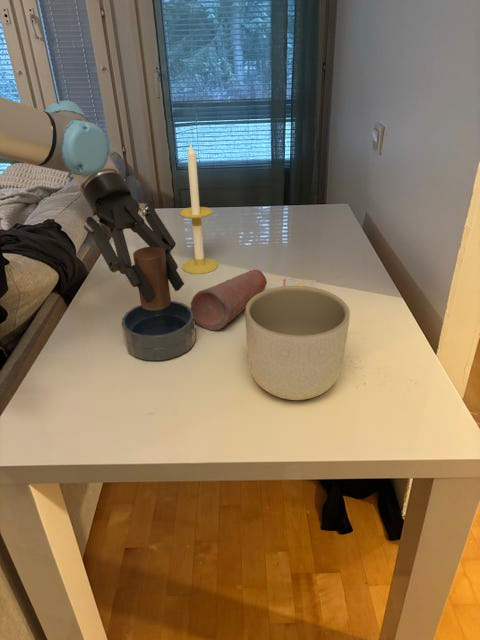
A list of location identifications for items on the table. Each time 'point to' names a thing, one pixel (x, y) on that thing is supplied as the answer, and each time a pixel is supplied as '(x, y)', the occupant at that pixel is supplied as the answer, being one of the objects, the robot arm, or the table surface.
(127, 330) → the bowl
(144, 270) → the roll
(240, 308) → the pink vase
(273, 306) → the planter
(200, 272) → the candle
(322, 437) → the table surface
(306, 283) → the tea bag
